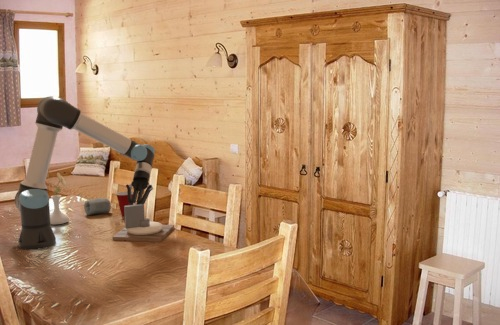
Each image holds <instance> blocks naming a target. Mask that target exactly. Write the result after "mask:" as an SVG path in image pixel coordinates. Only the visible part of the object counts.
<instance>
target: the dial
mask: <svg viewBox="0 0 500 325" xmlns="http://www.w3.org/2000/svg"><path fill="white" fill-rule="evenodd" d="M124 213H125V216H124V228H126V229H127V233H129V234H133V235H149V234H154V233H158V232H160V231H161V230H162V225H163V224H162V223H161V222H157V221H151V220H150V217H149V218H147V217H145V204H138V205H128V206H124Z"/></svg>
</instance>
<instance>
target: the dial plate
mask: <svg viewBox="0 0 500 325" xmlns="http://www.w3.org/2000/svg"><path fill="white" fill-rule="evenodd" d="M174 229H175V224H162V230H161V231H160V232H158V233H154V234H149V235H133V234H129V233H127V229H126V228H125V227H124V228H122V229H121V230H120V231H118V232H117V233H115V234H114V235H113V236H112V241H124V240H126V241H129V242H131V241H132V242H156V243H157V242H158V243H159V242H160V243H161V242H162V241H163V240H164V239H165V238H166V237H167V236H168V235H169V234H170V233H172V231H173V230H174Z"/></svg>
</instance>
